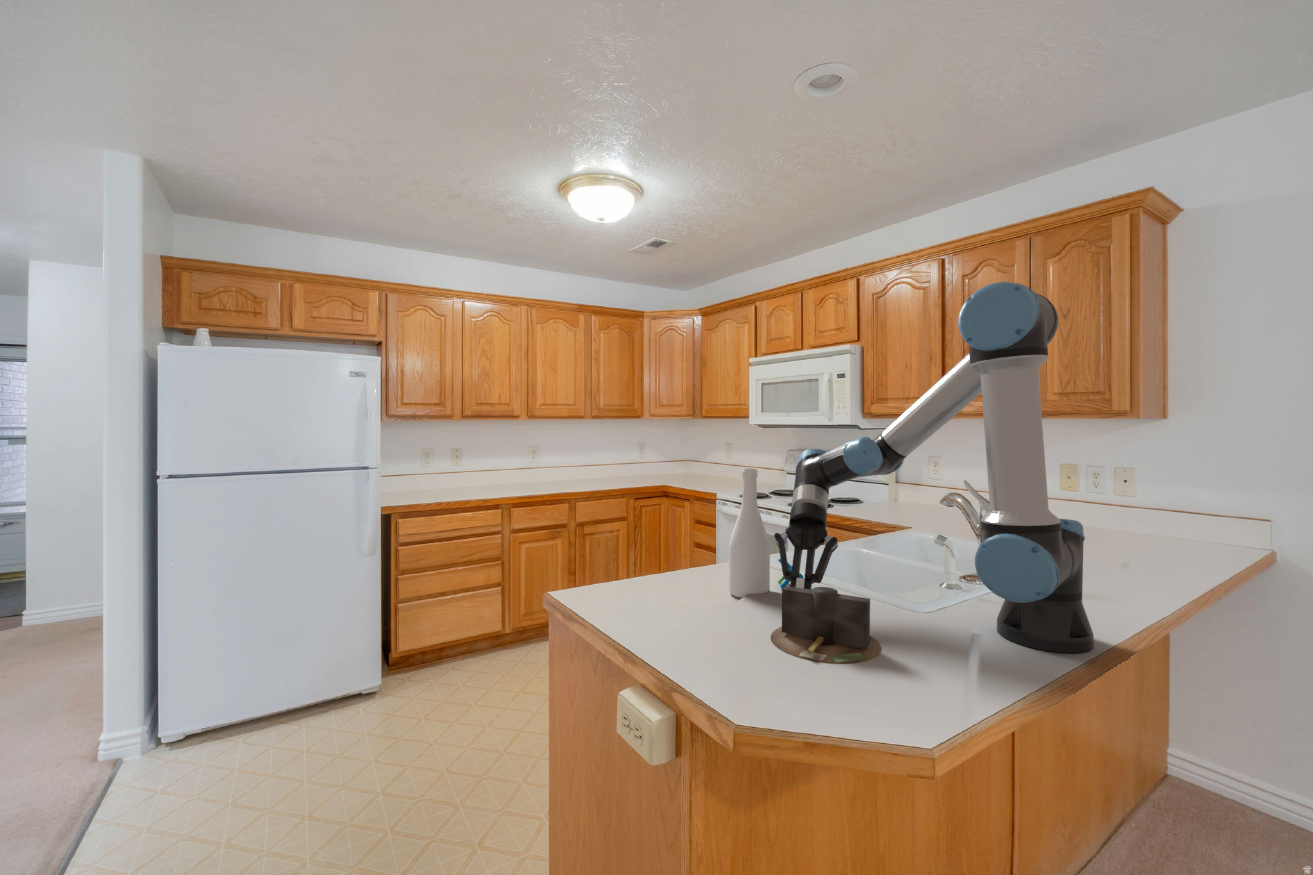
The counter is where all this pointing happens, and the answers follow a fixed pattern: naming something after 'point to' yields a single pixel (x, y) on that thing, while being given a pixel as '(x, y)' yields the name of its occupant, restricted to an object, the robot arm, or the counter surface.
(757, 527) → the wine bottle
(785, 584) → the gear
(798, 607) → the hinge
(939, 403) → the robot arm
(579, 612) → the counter surface
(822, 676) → the counter surface
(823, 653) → the dial
